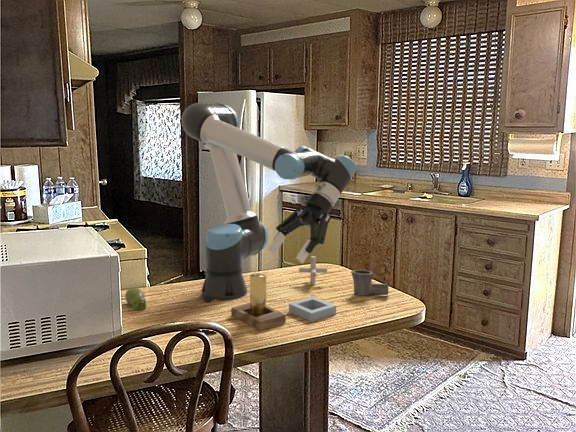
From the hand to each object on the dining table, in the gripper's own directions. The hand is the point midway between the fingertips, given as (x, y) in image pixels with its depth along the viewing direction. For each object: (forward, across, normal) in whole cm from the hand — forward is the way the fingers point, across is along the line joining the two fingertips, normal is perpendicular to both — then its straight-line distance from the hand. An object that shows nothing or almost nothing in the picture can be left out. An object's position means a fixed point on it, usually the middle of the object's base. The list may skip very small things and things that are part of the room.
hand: (284, 256), depth 159 cm
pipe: (-11, 0, +39) cm, 40 cm away
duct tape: (+31, -1, -5) cm, 31 cm away
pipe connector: (-6, -20, +33) cm, 38 cm away
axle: (+19, 0, +5) cm, 20 cm away
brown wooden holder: (+20, 0, +6) cm, 21 cm away
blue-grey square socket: (+9, +5, +18) cm, 21 cm away
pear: (+35, -34, -11) cm, 50 cm away
